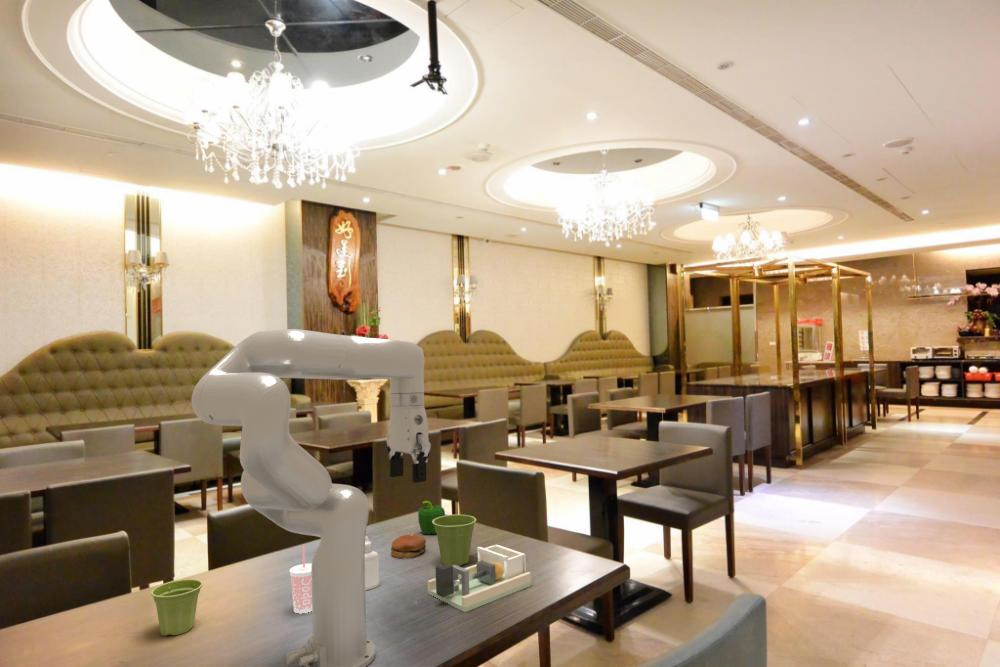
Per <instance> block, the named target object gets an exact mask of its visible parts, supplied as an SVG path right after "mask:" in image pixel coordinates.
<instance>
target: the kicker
mask: <svg viewBox="0 0 1000 667" xmlns="http://www.w3.org/2000/svg"><path fill="white" fill-rule="evenodd" d="M476 564H477V573H475V574H472V575H469V581H471V580H474V579H478V580H480V581H483V582H485V583H488V584H490V585H491V584H494V583H496V574H495V565H492V564H490V563H487V562H485V561H482V560H481V561H478V560H477V561H476ZM435 578H436V594H437V595H439V596H441V597H445V596H448V595H451V594H454V587H455V586H457V585H460V584H462V578H460V579H458V580H455V581H453V566H451V565H449V564H447V563H446V564H440V565H438V566H437V565H436V566H435Z"/></svg>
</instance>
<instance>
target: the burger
mask: <svg viewBox="0 0 1000 667" xmlns="http://www.w3.org/2000/svg"><path fill="white" fill-rule="evenodd" d="M426 543H427V540H426V538H425V537H423V536H421V535H418V534H416V533H413V534H411V533H410V534H404V535H401V536H398V537H397V538H395V539H394V540H393V541H392V542H391V547H390V551H391V552H390V554H391V556H392V557H393V558H396V559H404V558H406V559H411V558H415V557H417V556H419V555H420V553H421V554H422V553H423V552H424V551H425V549H426V547H427V546H426Z"/></svg>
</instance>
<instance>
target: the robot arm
mask: <svg viewBox="0 0 1000 667" xmlns="http://www.w3.org/2000/svg"><path fill="white" fill-rule="evenodd" d="M425 362H426V358H425V355H424V350H423V348H422V347H420V346H419V345H417V344H416V343H415V342H412V341H407V340H400V339H388V338H386V339H385V338H374V337H365V336H357V335H346V334H336V333H329V332H321V331H315V330H307V329H298V328H289V329H288V328H287V329H285V328H284V329H273V330H261V331H257V332H254V333H251V334H250V335H248V336H247V337H245V338H244V339H243V340H241V341H240V342H239V343H237V345H236V346H234V347H233V348H232V349H231V350H230V351H228V352H227V354H226V355H224V356H223V357H222V358H221V359H220V360H219V361H218V362H217V363H216V364H215V365H213V367H211V368H210V369H209V370H208V371H207V372H206V373H205V374H204V375H202V377H200V379H199V381H198V382H197V383H196V385H195V386H194V389H193V391H192V395H191V407H192V410H193V413H194V414H195V415H196V417H197V418H198V419H199V420H201V421H203V423H205V424H210V425H213V426H225V427H226V426H227V427H228V426H229V427H233V426H234V427H235V426H236V427H242V429H241V436H240V444H239V445H240V446H239V447H240V449H239V462H240V465H241V467H242V469H243V471H242V474H241V476H240V477H241V478H240V488H241V494H242V496H243V498H244V500H245V501H246V503H247V504H248V505H249V506H250V507H251V508H252V509H253V510H255V511H256V512H258V513H259V514H262V515H263V516H264V517H265V518H267V519H268V520H270V521H272V523H274V524H275V525H277V526H279V527H280V528H282V529H284V530H286V531H288V532H290V533H294V534H300V535H305V536H314V537H319V538H320V542H319V545H318V546H317V548H316V550H315V552H314V554H313V557H312V561H311V564H312V565H311V577H312V614H311V615H312V616H311V618H312V636H310V637H307V639H306V640H307V643H306V644H304V645H303V646H302V647H301V648H299V649H295V650H292V651H290V652H287V653H286V654H285V664H286V665H287V666H290V665H293V664H295V663H298V666H299V667H367V666H368V665H369V664H370V663H371V662H373V660H374V659H375V657H376V653H377V651H376V646H375V643H374V642H373V641H372V640H370V639H369V638H367V637H368V636H367V600H366V597H367V595H366V593H367V592H366V591H367V590H365V537H367V535H366V534H367V528H368V522H369V516H370V515H369V514H370V504H369V503H370V502H369V499H368V497H367V496H366V494H365V493H364V492H363V491H362V490H361V489H360V488H357V487H355V486H352V485H349V484H344V483H343V484H341V483H333V482H332V478H331V475H330V472H329V471H328V470H327V469H326V467H325V466H324V465H323V464H322V463H321V462H320V461H318V460H317V459H316V458H315V457H313V456H312V455H311V454H310V453H309V452H308V451H307V450H306V449H305V448H303V447H302V446H301V445H299V443H298V442H297V441H296V440H295V439H294V438H293V437H292V435H291V433H290V414H291V405H292V404H291V402H292V401H291V400H292V399H291V393H290V391H289V387H288V386H287V384H286V383H285V381H284V380H283V379H285V378H288V379H312V380H314V379H315V380H316V379H317V380H338V381H339V380H341V381H343V380H362V379H372V380H389V393H390V394H389V408H390V415H389V431H388V437H386V438H385V441H386V445H387V449H386V450H387V451H388V459H389V477H390V478H397V477H403V476H404V457H403V454H406V455H410V456H411V457H412V458H411V459H412V461H413V463H412V464H411V475H412V476H411V478H412V479H411V480H412V483H414V484H416V483H422V482H423V483H424V482H426V481H427V463H428V460H429V459H428V458H429V456H430V450H431V446H432V444H431V442H430V441H429V426H428V417H427V412H426V408H425V370H424V369H425V367H424V366H425Z"/></svg>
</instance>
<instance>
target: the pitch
mask: <svg viewBox="0 0 1000 667" xmlns="http://www.w3.org/2000/svg"><path fill="white" fill-rule="evenodd" d="M476 551H477V562H478V561H481V560H482V561H485V562H487V563H490V564H491V563H494V562H498V563H500V564H501V565H502V566H503V569H504V574H503V576H502V577H501V578H500V579H499V580H496V583H494V584H491V585H490V584H488V583H485V582H483V581H480V580H478V579H474V580H471V581H469V575H472V574H475V573H477V563H476V564H473V565H470V566H467V567H465V568H464V567H461V566H457V565H453V581H455V580H458V579H460V578H462V584H460V585H457V586H455V587H454V594H451V595H448V596H445V597H441V596H439V595H437V594H436V577H435V578H432V579H429V580H427V594H428V595H429V594H430V595H429V596H431V595H432V596H431V597H433V596H434V597H433V598H435V597H436V598H435V599H437V598H438V599H437V600H439V599H440V601H441V600H442V601H441V602H443V601H444V602H443V603H445V602H446V604H447V603H448V604H447V605H449V604H450V605H449V606H451V605H452V606H451V607H453V606H454V607H453V608H454V609H457V610H459V611H461V612H463V613H467V612H469V611H472V610H474V609H477V608H480V607H481V606H482V607H483V606H484V605H487V604H490V603H492V602H494V601H497V600H499V599H502V598H505V597H507V596H510V595H512V594H514V593H517V592H519V591H522V590H524V589H527V588H530V587H532V572H530V571H527V562H526V558H527V557H526V553H523V552H520V551H517V550H514V549H512V548H508V547H506V546H503V545H499V544H493V545H489V546H486V547H482V546H477V547H476Z"/></svg>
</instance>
